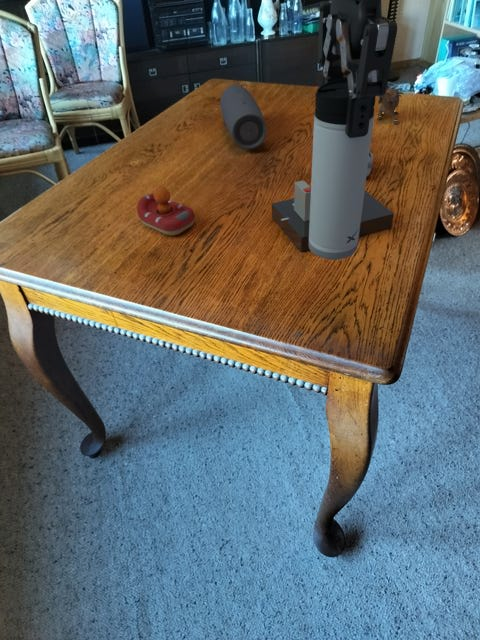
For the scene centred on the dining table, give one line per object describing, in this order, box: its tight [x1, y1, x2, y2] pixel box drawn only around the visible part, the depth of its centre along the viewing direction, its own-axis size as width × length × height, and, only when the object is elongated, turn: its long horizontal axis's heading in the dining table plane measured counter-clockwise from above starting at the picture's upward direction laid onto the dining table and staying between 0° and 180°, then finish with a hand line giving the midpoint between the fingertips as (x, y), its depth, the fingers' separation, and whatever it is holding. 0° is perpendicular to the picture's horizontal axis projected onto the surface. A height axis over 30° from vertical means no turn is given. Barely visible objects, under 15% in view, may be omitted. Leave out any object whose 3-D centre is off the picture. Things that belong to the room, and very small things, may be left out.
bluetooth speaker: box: [219, 84, 268, 150], centre depth 117 cm, size 23×9×10 cm, turn 9°
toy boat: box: [136, 186, 196, 237], centre depth 88 cm, size 8×12×8 cm, turn 51°
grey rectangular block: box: [293, 179, 311, 222], centre depth 82 cm, size 4×2×6 cm, turn 19°
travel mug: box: [309, 76, 378, 261], centre depth 54 cm, size 6×7×20 cm
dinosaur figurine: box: [376, 84, 405, 125], centre depth 120 cm, size 14×6×9 cm, turn 163°
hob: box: [271, 190, 395, 253], centre depth 86 cm, size 19×13×3 cm
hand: (344, 123), depth 50 cm, fingers closed on travel mug, 6 cm apart
